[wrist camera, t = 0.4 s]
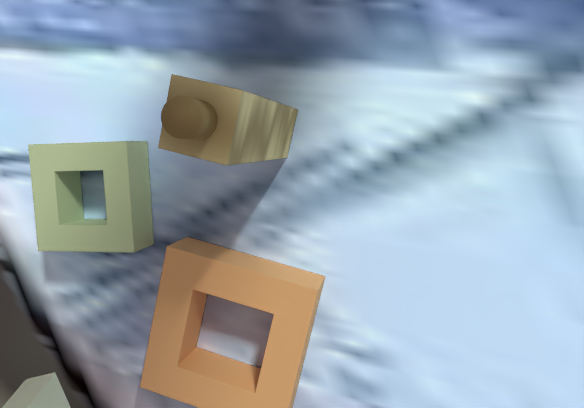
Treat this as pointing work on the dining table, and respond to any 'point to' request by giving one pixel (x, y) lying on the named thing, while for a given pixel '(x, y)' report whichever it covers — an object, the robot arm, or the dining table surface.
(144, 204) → the green square ring
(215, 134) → the peg block
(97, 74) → the dining table surface
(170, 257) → the orange square frame
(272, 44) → the dining table surface
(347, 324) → the dining table surface
